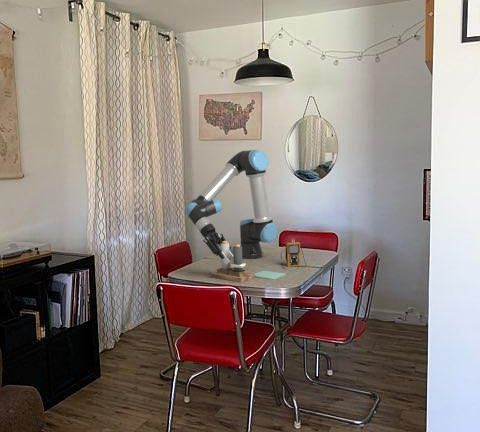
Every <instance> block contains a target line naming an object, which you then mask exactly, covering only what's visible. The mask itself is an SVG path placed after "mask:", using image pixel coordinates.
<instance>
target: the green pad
mask: <svg viewBox="0 0 480 432" xmlns="http://www.w3.org/2000/svg"><path fill="white" fill-rule="evenodd" d="M254 274H255V278H258V277H259V278H258V279H264V278H265V280H271V281H272V280H273V279H274V280H276V279H278V278H282V277H285V276H287V273H283V272H276V271H268V270H262V271H259V272H256V273H254ZM274 280H273V281H274Z"/></svg>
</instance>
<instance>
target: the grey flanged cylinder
mask: <svg viewBox="0 0 480 432" xmlns="http://www.w3.org/2000/svg"><path fill="white" fill-rule="evenodd" d="M240 245H241V243H240V244H237V243H236V244H234V246H233V247H232V254H233V259H234V263H230V268H234V272H243V270H244V267H246V266H247V265H246V264H247V263H245V262H243V258H242V247H240Z"/></svg>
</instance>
